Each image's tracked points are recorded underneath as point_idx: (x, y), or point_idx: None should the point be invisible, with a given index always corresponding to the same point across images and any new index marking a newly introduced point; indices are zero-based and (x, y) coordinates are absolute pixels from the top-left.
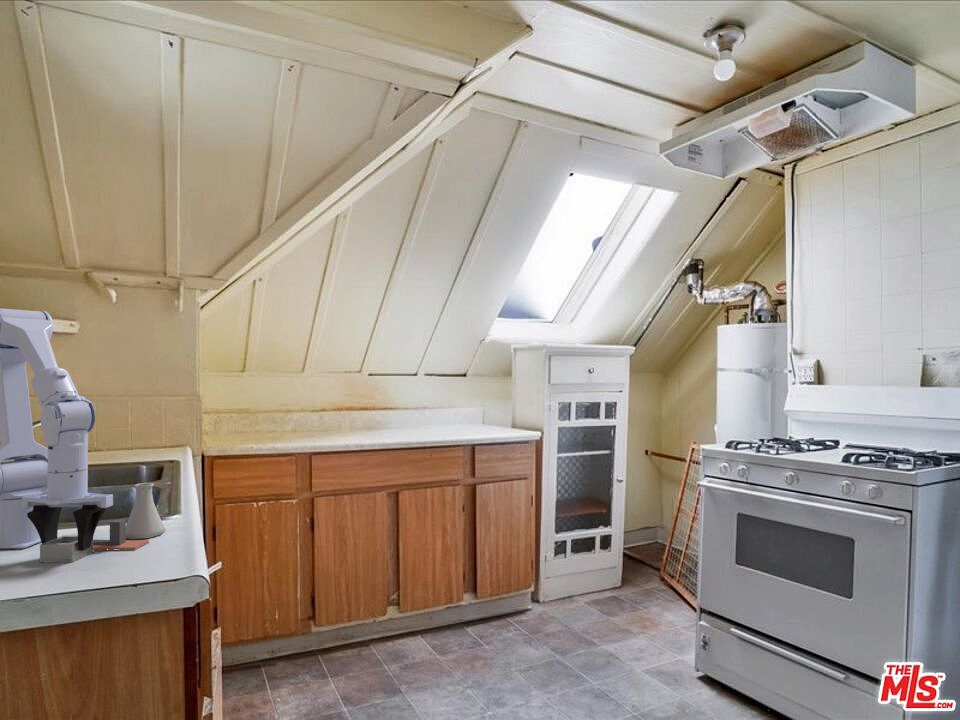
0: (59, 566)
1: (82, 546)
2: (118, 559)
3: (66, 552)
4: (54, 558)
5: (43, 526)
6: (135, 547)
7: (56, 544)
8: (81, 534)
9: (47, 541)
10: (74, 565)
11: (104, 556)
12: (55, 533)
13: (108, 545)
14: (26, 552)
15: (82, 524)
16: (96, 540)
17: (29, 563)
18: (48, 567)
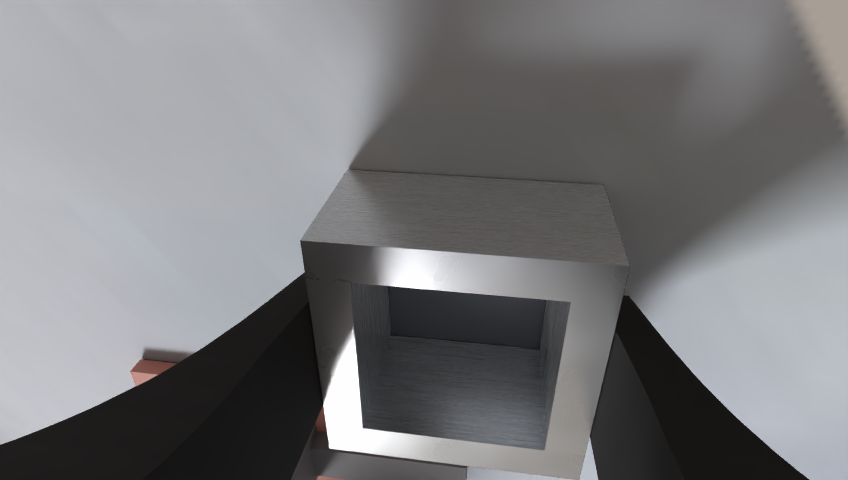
0: (376, 80)
1: (290, 283)
2: (83, 208)
3: (371, 206)
4: (482, 191)
5: (667, 457)
6: (131, 372)
7: (457, 255)
8: (232, 339)
9: (613, 351)
10: (275, 99)
11: (226, 274)
12: (601, 462)
13: (320, 422)
14: (842, 410)
15: (139, 408)
16: (417, 478)
17: (683, 173)
18: (451, 59)
